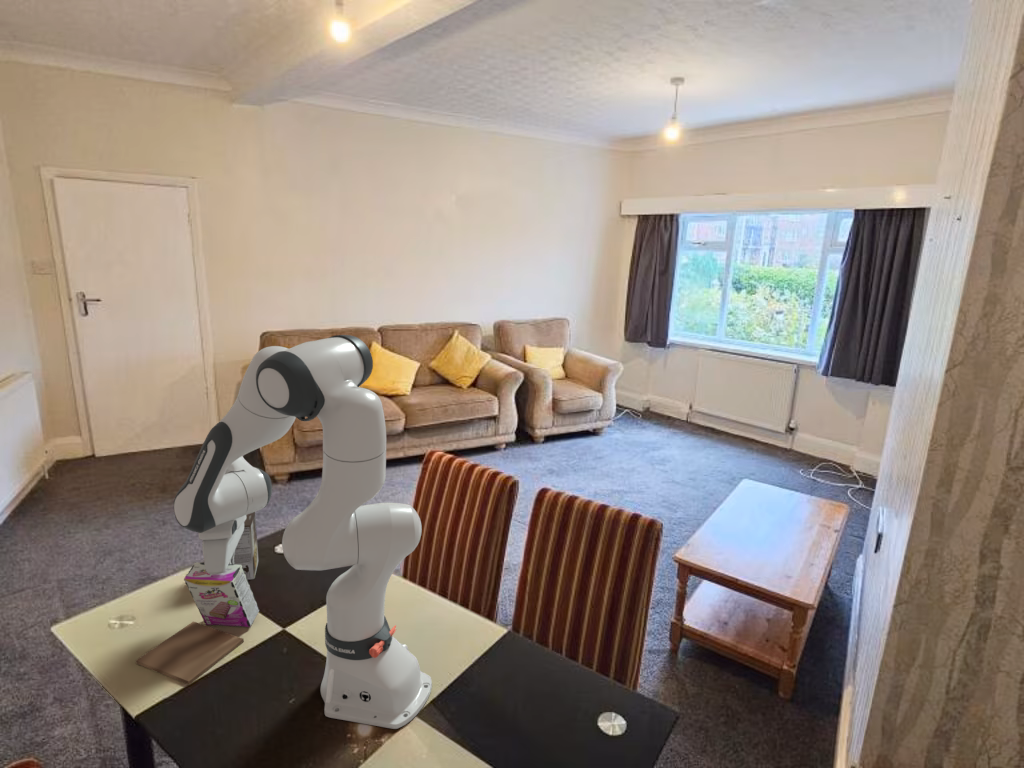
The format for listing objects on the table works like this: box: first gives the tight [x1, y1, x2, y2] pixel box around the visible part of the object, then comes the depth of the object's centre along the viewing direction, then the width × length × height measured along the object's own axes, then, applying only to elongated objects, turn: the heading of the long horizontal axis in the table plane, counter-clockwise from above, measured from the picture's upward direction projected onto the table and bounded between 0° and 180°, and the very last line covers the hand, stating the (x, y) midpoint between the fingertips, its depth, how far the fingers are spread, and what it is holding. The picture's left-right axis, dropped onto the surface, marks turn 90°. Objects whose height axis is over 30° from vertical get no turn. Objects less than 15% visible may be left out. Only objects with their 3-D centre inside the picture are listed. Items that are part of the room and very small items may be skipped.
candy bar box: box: [183, 562, 260, 628], centre depth 128 cm, size 11×5×16 cm, turn 86°
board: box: [135, 621, 244, 686], centre depth 122 cm, size 15×14×1 cm
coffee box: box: [234, 512, 259, 581], centre depth 151 cm, size 9×6×16 cm
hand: (228, 569), depth 129 cm, fingers closed
